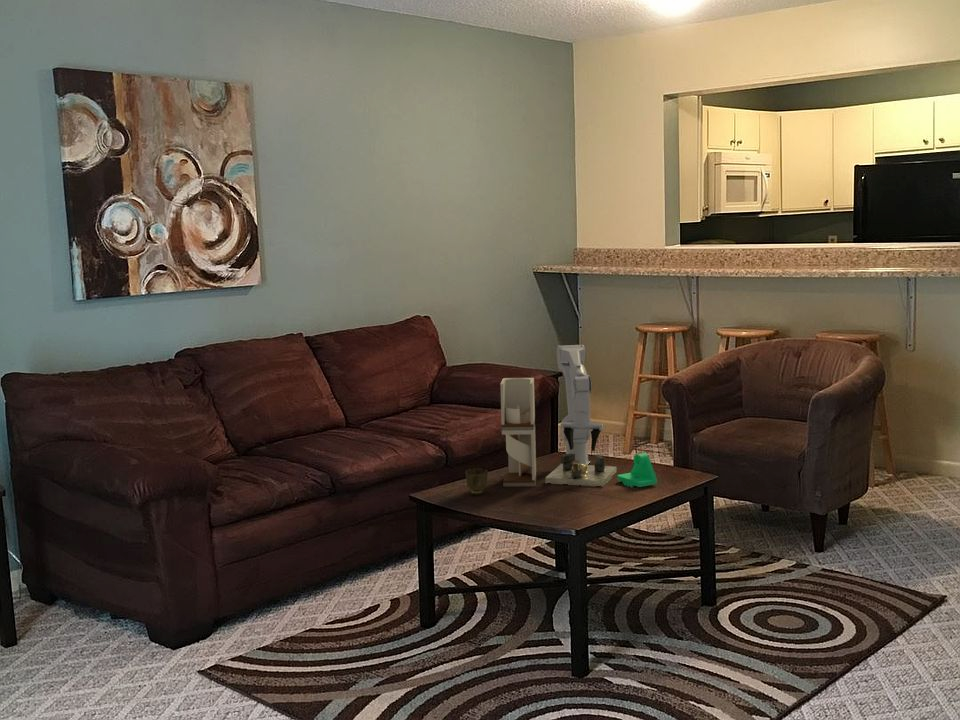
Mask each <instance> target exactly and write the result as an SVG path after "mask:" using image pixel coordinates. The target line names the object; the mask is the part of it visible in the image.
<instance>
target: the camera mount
mask: <svg viewBox="0 0 960 720" xmlns="http://www.w3.org/2000/svg"><path fill="white" fill-rule="evenodd" d="M617 481H618V482H622V485H623V484H624V485H623V486H626V485H627V486H626V487H629V486H630V488H635V487H634V486H637V488H642V487H647V486H651V485H656V484H658V478H657V476H656V472H655V471H654V467H653V465H652V462H651V459H650V456H649V455H648V453H646V452H642V453H637V454H634V455H633V467H632V469H631V471H630V472H628V473H622V474H617Z"/></svg>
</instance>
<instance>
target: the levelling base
mask: <svg viewBox="0 0 960 720" xmlns="http://www.w3.org/2000/svg"><path fill="white" fill-rule="evenodd" d="M573 461H575V454H572V453H571V454H567V455H566V454H564V455H560V464H559V465H558V466H557V467H556V468H555V469H554V470H552V471H550V473H548V475H546V476H545V478H544V479H545V480H544V481H545V482H544V483H545V484H547V483H551V484H550V485H563V484H568V486H579V485H581V486H582V487H596V486H601V488H604V487H605V486H606V485H607V484H608V482H609V481H611V480H612V478H613V477H614V476H615V475H614V474H615V473H616V474H617V472H618V471H617V468H618V467H617V466H611V465H606V463H605V457H603V456H602V455H600V454H595V456H594V462H595V463H593V464H594V465H593V464H591V465H590V464H589V465H587V464H580V468H581V469H582V477H580V478H573V477H571V469H572V468H573ZM613 475H614V476H613ZM612 476H613V477H612ZM606 483H607V484H606ZM605 484H606V485H605ZM604 485H605V486H604Z"/></svg>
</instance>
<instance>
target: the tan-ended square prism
mask: <svg viewBox="0 0 960 720" xmlns="http://www.w3.org/2000/svg"><path fill="white" fill-rule="evenodd" d="M571 477H573V478H580V477H582V469H581V468H580V460H575V461H574V463H573V468H572V469H571Z"/></svg>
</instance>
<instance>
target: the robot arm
mask: <svg viewBox="0 0 960 720" xmlns="http://www.w3.org/2000/svg"><path fill="white" fill-rule="evenodd" d="M585 359H586V347H585V345H584V344H574V345H573V344H570V345H569V344H568V345H565V344H564V345H560V344H558V345H557V346H556V360H557V361H556V363H557V367H558V370H559V371H561V372H563V376H564V382H565V391H566V403H567V415H566V416H565V417H564V418H562V420H561V423H560V429H561V439H562V440H563V442H565V455H567V454H571V453H572V454H575V460H580V464H587V465H588V464H589V463H590V462H591V463H592V461H591V460H589V446H588V441H589V440H590V439H591V451H592V452H594V451H596V446H597V442H598V439H599V436H600V434H601V431H604V423H599V422H597V423H596V422H591V393H592V389H593V388H592V387H593V383H592V382H593V381H592V379H591V375H589V374H588V372H587V369H586V366H585ZM573 463H574V461H573ZM591 463H590V464H591ZM590 464H589V465H590Z"/></svg>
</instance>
